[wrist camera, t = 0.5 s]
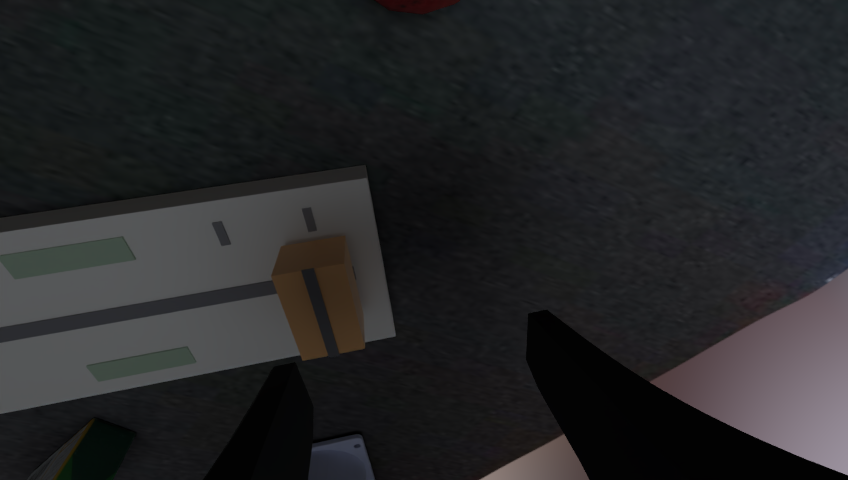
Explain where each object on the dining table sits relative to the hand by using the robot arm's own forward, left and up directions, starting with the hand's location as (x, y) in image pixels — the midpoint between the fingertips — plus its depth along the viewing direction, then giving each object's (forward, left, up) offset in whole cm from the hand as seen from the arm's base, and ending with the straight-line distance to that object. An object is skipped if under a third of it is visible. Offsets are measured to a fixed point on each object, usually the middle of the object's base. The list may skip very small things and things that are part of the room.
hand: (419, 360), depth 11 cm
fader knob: (-2, +4, -8) cm, 9 cm away
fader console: (-2, +12, -10) cm, 16 cm away
